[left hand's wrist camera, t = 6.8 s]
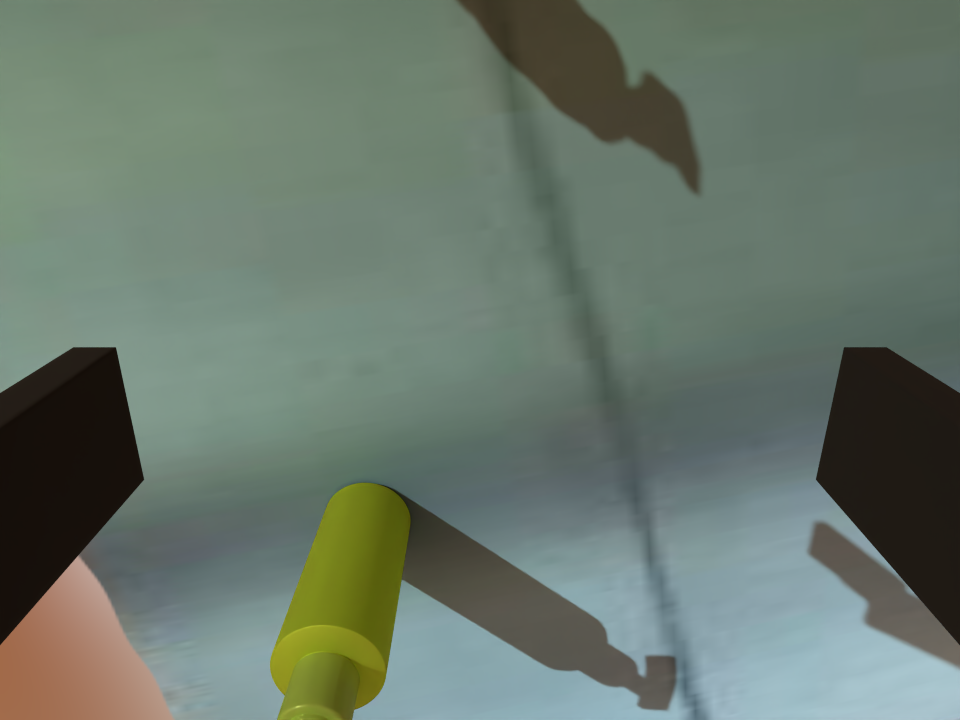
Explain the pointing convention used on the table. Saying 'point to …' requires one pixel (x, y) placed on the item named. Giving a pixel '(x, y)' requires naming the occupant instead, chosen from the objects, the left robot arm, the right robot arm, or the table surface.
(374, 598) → the soap dispenser
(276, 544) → the table surface
